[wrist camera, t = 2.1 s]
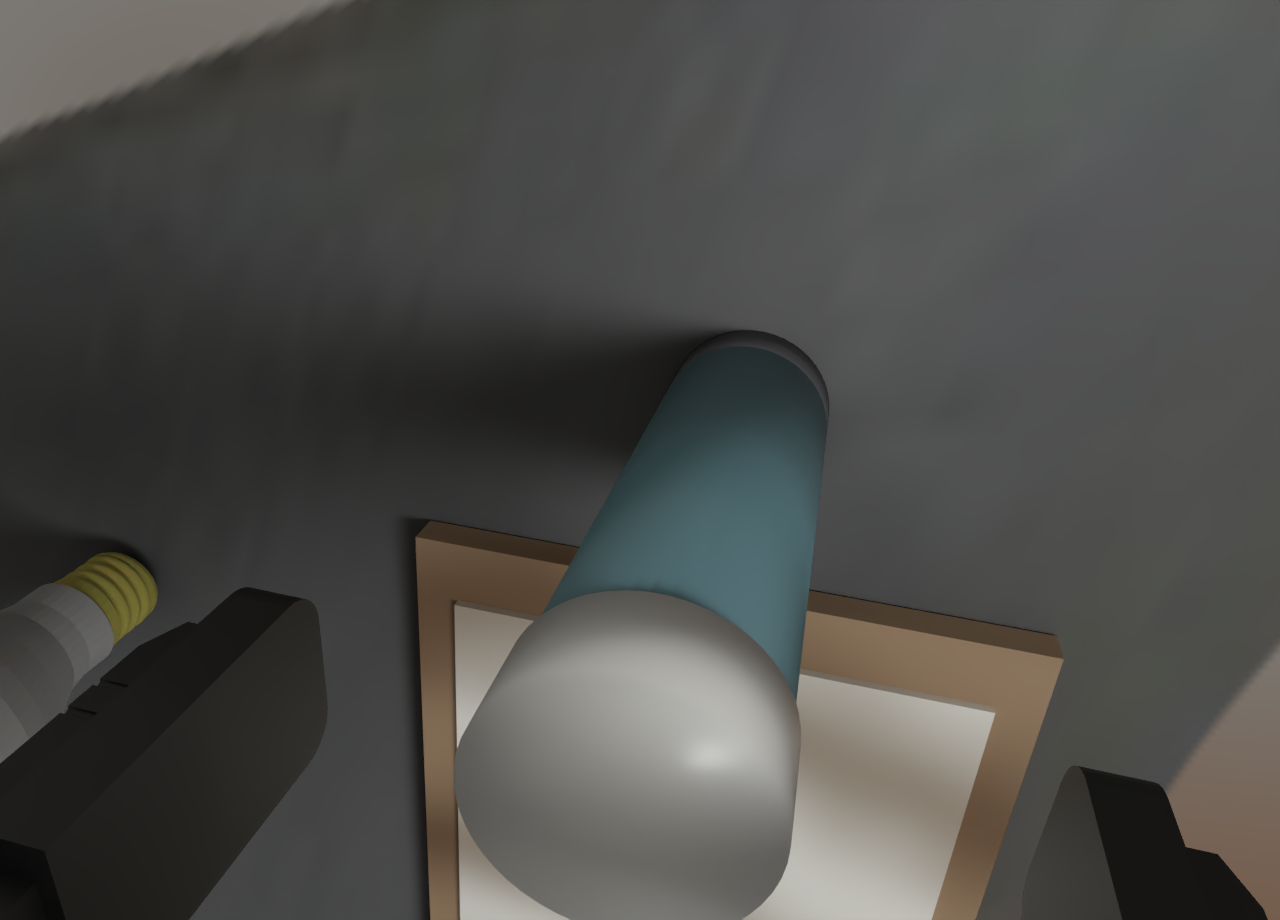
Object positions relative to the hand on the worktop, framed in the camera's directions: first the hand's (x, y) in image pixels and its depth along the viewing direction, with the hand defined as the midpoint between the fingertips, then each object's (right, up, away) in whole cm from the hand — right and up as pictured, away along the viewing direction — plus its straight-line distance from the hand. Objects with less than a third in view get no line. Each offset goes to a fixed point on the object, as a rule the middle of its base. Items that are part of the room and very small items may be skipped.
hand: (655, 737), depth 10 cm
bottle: (+2, +4, +9) cm, 10 cm away
